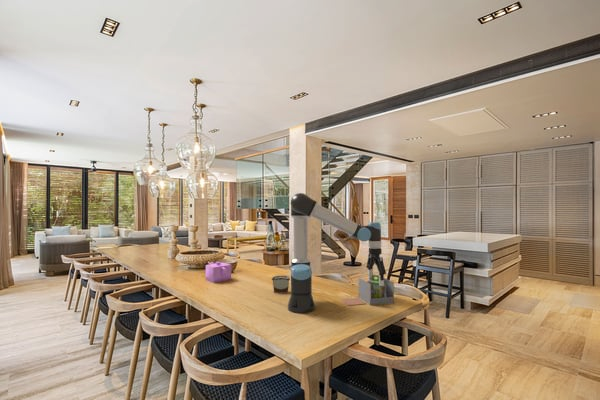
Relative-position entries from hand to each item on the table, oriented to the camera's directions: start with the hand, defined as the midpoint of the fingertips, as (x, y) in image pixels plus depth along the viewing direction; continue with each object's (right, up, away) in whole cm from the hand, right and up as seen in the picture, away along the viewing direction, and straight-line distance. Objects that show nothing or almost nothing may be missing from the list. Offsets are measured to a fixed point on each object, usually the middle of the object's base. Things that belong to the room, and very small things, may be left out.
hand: (376, 282), depth 181 cm
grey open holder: (0, -10, 0) cm, 10 cm away
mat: (-14, -10, -4) cm, 18 cm away
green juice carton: (0, -11, 0) cm, 11 cm away
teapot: (-111, -13, +55) cm, 124 cm away
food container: (-58, -12, +20) cm, 63 cm away
